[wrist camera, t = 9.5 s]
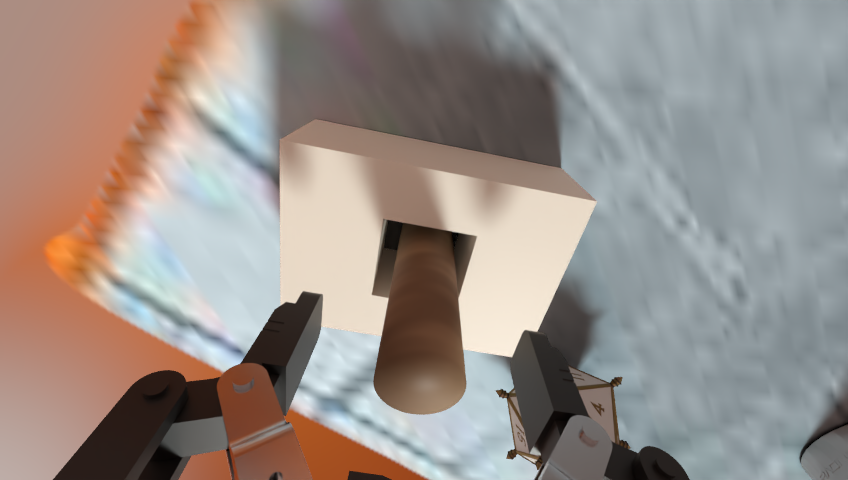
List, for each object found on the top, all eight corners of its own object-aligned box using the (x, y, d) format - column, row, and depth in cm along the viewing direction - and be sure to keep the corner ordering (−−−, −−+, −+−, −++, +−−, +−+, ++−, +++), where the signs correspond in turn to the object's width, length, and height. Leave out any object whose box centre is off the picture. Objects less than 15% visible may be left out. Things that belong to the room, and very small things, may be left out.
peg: (456, 205, 21) (476, 359, 11) (445, 247, 23) (454, 420, 12) (407, 196, 21) (379, 344, 11) (399, 239, 23) (368, 407, 12)
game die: (548, 323, 30) (671, 364, 21) (560, 414, 31) (684, 489, 22) (460, 359, 27) (565, 427, 18) (477, 461, 28) (586, 575, 19)
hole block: (561, 168, 20) (597, 201, 16) (508, 304, 25) (524, 359, 20) (315, 119, 19) (279, 139, 15) (309, 270, 24) (280, 319, 19)
